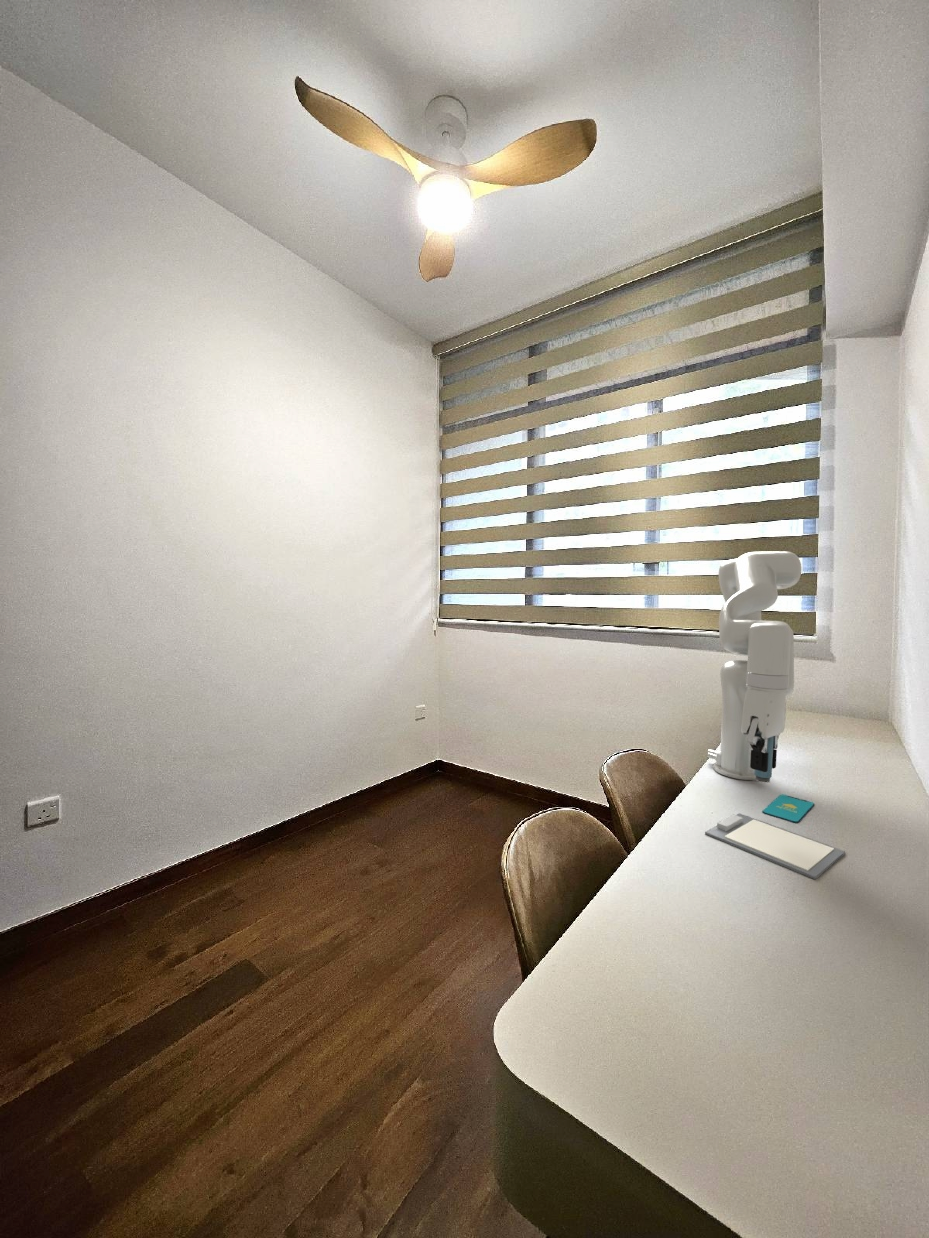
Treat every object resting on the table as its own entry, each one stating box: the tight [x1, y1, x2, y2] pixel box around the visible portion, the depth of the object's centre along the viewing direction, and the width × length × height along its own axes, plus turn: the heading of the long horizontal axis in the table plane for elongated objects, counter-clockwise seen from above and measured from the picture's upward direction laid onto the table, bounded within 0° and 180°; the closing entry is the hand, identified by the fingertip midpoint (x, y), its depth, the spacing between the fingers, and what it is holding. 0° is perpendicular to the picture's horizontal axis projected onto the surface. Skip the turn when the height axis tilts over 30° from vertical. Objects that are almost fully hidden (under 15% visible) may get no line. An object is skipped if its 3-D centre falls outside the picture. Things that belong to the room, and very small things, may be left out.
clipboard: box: [704, 812, 846, 880], centre depth 101 cm, size 20×15×2 cm
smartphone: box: [761, 794, 815, 824], centre depth 118 cm, size 7×1×15 cm
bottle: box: [754, 733, 774, 783], centre depth 105 cm, size 3×3×11 cm
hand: (763, 767), depth 105 cm, fingers closed on bottle, 3 cm apart
